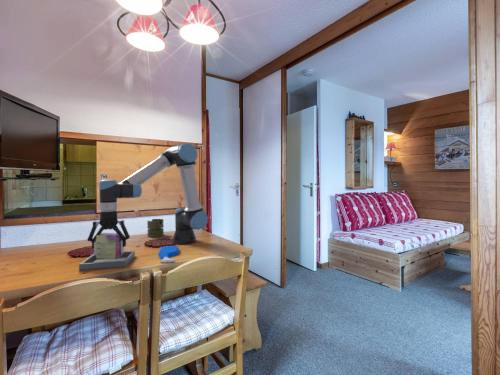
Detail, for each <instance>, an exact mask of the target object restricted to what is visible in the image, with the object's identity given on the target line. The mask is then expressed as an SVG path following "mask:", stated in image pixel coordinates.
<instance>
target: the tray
mask: <svg viewBox="0 0 500 375" xmlns="http://www.w3.org/2000/svg"><path fill="white" fill-rule="evenodd" d="M135 256H136V251H135V250H132V251H131V250H129V251H128V250H127V251H124V253H123V254H122V256H121V257H119V258H117V259H104V258H96V255H94V253H93V254H91V255H90V256H88V257H87V258H86V259H84V260H83V261H81V262H80V263H78V270H79V271H80V272H81V271H92V270H93V271H94V270H111V269H123V268H125V269H126V268H127V267H128V266H129V264H131V262H132V261H133V259H134V258H135Z"/></svg>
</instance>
